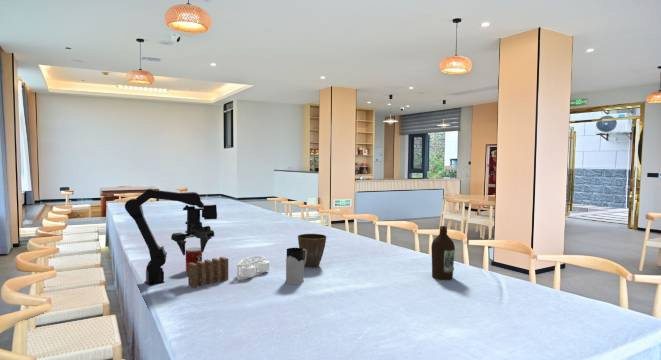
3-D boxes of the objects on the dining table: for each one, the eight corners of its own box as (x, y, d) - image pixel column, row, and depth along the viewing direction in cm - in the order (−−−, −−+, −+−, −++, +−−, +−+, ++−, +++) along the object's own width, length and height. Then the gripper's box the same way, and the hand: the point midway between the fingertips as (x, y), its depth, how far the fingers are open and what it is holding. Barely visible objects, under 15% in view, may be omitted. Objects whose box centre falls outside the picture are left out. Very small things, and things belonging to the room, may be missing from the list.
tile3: (209, 284, 179) (209, 262, 179) (203, 282, 182) (203, 260, 182) (213, 283, 180) (213, 261, 180) (207, 281, 184) (207, 259, 183)
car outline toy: (246, 282, 184) (246, 266, 183) (228, 278, 189) (228, 262, 189) (273, 272, 201) (273, 257, 200) (256, 269, 206) (256, 254, 206)
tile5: (224, 281, 184) (224, 259, 184) (218, 278, 188) (218, 257, 188) (228, 280, 186) (228, 258, 185) (222, 278, 189) (222, 256, 189)
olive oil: (425, 277, 193) (427, 225, 192) (441, 274, 199) (442, 223, 198) (443, 283, 185) (444, 228, 184) (458, 279, 190) (460, 226, 189)
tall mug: (281, 283, 182) (281, 250, 182) (298, 275, 195) (298, 244, 194) (297, 286, 178) (297, 252, 178) (313, 278, 191) (314, 246, 190)
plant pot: (327, 263, 219) (327, 234, 218) (324, 270, 204) (324, 239, 203) (300, 262, 220) (300, 233, 219) (295, 269, 205) (295, 238, 205)
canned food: (191, 274, 196) (191, 251, 195) (182, 271, 200) (182, 249, 200) (205, 270, 202) (205, 248, 201) (195, 268, 206) (195, 246, 206)
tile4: (217, 282, 182) (217, 260, 181) (211, 280, 185) (211, 258, 185) (220, 281, 183) (220, 259, 183) (215, 279, 187) (215, 258, 186)
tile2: (201, 286, 176) (201, 263, 176) (195, 283, 180) (195, 261, 179) (205, 285, 178) (205, 262, 177) (199, 283, 181) (199, 260, 181)
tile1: (193, 288, 174) (193, 265, 173) (187, 285, 177) (187, 263, 177) (197, 287, 175) (197, 264, 175) (191, 284, 178) (191, 262, 178)
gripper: (183, 223, 173) (183, 260, 174) (221, 219, 187) (220, 253, 188) (170, 220, 180) (170, 255, 181) (207, 217, 194) (207, 249, 195)
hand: (193, 253), depth 186 cm, fingers open, 9 cm apart
